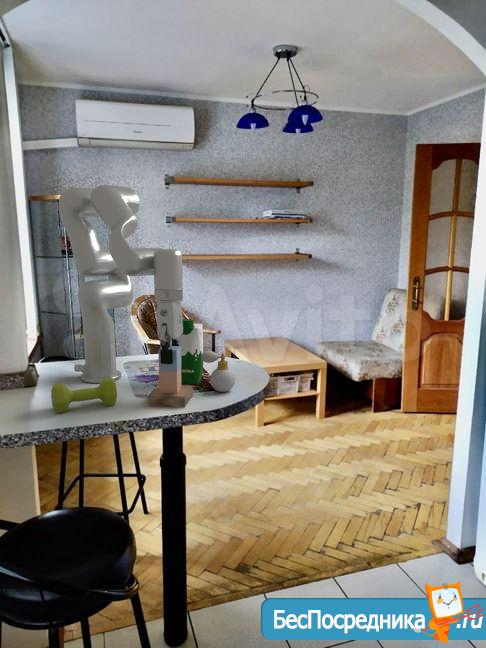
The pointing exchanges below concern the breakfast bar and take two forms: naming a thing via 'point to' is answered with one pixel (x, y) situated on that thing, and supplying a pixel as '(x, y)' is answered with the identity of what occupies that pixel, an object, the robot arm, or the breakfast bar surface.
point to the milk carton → (191, 352)
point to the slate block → (176, 361)
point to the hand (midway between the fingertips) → (170, 360)
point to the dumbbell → (83, 394)
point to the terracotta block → (170, 382)
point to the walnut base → (170, 397)
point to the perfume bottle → (219, 372)
